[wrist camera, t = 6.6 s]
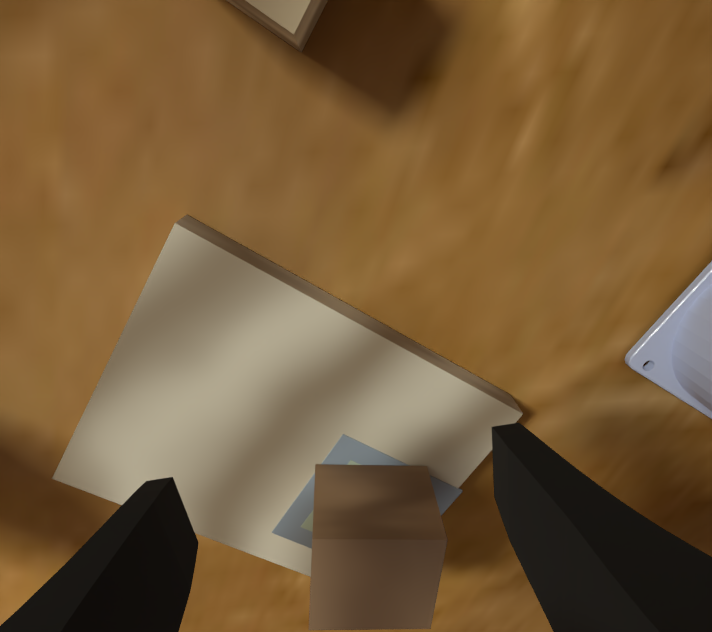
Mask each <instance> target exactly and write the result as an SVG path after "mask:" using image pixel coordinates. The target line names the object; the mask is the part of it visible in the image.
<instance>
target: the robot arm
mask: <svg viewBox="0 0 712 632" xmlns="http://www.w3.org/2000/svg"><path fill="white" fill-rule="evenodd" d="M647 361H649V362H648V364H647V365H645V366H643V365H644V363H645V362H647ZM625 362H626V364H627V365H628V366H629V367H630V368H632V369H633V370H635V371H636V372H638V373H640V374H641V375H643V376H644V377H646V378H647V379H649V380H651V381H652V382H654V383H655V384H657V385H659V386H660V387H662V388H663V389H665V390H667V391H668V392H670V393H671V394H673V395H675V396H676V397H678V398H679V399H681V400H683V401H684V402H686V403H687V404H689V405H690V406H692V407H694V408H695V409H697V410H698V411H700V412H702V413H703V414H705V415H706V416H708V417H710V418H711V419H712V261H711V262H710V263H709V264H708V266H707V267H706V268H705V269H704V270H703V271H702V272H701V273H700V274H699V275H698V276H697V278H696V279H695V280H694V281H693V282H692V283H691V284H690V285H689V286H688V287H687V288H686V290H685V291H684V292H683V293H682V294H681V295H680V296H679V297H678V298H677V299H676V300H675V302H674V303H673V304H672V305H671V306H670V307H669V308H668V309H667V310H666V311H665V312H664V314H663V315H662V316H661V317H660V318H659V319H658V320H657V321H656V322H655V323H654V324H653V326H652V327H651V328H650V329H649V330H648V331H647V332H646V333H645V334H644V335H643V336H642V338H641V339H640V340H639V341H638V342H637V343H636V344H635V345H634V346H633V347H632V348H631V349H630V351H629V352H628V353H627V355H626V357H625ZM492 451H493V476H494V497H495V500H496V503H497V506H498V509H499V512H500V514H501V517H502V520H503V523H504V526H505V529H506V531H507V534H508V537H509V540H510V542H511V544H512V546H513V548H514V550H515V553H516V555H517V557H518V559H519V561H520V563H521V565H522V567H523V569H524V571H525V573H526V576H527V578H528V580H529V582H530V584H531V586H532V588H533V590H534V592H535V594H536V596H537V598H538V600H539V602H540V604H541V606H542V609H543V611H544V613H545V615H546V617H547V619H548V621H549V623H550V625H551V627H552V629H553V631H554V632H712V557H711V556H709V555H707V554H705V553H703V552H702V551H700V550H698V549H697V548H695V547H693V546H691V545H690V544H688V543H686V542H685V541H683V540H681V539H680V538H678V537H676V536H674V535H673V534H671V533H669V532H668V531H666V530H664V529H663V528H661V527H660V526H658V525H656V524H655V523H653V522H652V521H650V520H648V519H647V518H645V517H644V516H642V515H641V514H639V513H638V512H636V511H635V510H633V509H632V508H630V507H629V506H627V505H626V504H624V503H623V502H621V501H620V500H618V499H617V498H616V497H614V496H613V495H611V494H610V493H609V492H607V491H606V490H604V489H603V488H602V487H600V486H599V485H598V484H596V483H595V482H594V481H592V480H591V479H590V478H588V477H587V476H586V475H584V474H583V473H582V472H580V471H579V470H578V469H576V468H575V467H574V466H572V465H571V464H570V463H569V462H567V461H566V460H565V459H564V458H562V457H561V456H560V455H559V454H557V453H556V452H555V451H554V450H552V449H551V448H550V447H549V446H547V445H546V444H545V443H544V442H542V441H541V440H540V439H539V438H538V437H536V436H535V435H534V434H533V433H531V432H530V431H529V430H528V429H526V428H525V427H524V426H523V425H521V424H520V423H512V424H506V425H500V426H493V427H492ZM197 549H198V540H197V538H196V535H195V533H194V530H193V527H192V525H191V522H190V520H189V517H188V515H187V512H186V510H185V507H184V504H183V502H182V499H181V497H180V494H179V492H178V489H177V486H176V484H175V481H174V479H173V477H169V478H162V479H156V480H150V481H146V482H145V483H144V484H142V485H141V486H140V487H139V488H138V489H137V490H136V491H135V492H134V493H133V494H132V495H131V496H130V497H129V498H128V499H127V500H126V502H125V503H124V504H123V505H122V506H121V507H120V508H119V509H118V510H117V511H116V512H115V513H114V514H113V515H112V516H111V517H110V518H109V519H108V520H107V521H106V523H105V524H104V525H103V526H102V527H101V528H100V529H99V530H98V531H97V532H96V533H95V534H94V535H93V536H92V537H91V538H90V539H89V540H88V541H87V542H86V543H85V544H84V545H83V546H82V547H81V548H80V550H79V551H78V552H77V553H76V554H75V555H74V556H73V557H72V558H71V559H70V560H69V561H68V562H67V563H66V564H65V565H64V566H63V567H62V568H61V569H60V570H59V571H58V572H57V573H56V574H55V575H53V576H52V577H51V578H50V579H49V580H48V581H47V582H46V583H45V584H44V585H43V586H42V587H41V588H40V589H39V590H38V591H37V592H36V593H35V594H34V595H33V596H32V597H31V598H30V599H29V600H28V601H27V602H26V603H25V604H24V605H23V606H22V607H20V608H19V609H18V610H17V611H16V612H15V613H14V614H13V615H12V616H11V617H10V618H9V619H7V620H6V621H5V622H4V623H3V624H2V625H1V626H0V632H178V631H179V628H180V624H181V621H182V618H183V614H184V611H185V607H186V604H187V600H188V597H189V593H190V589H191V584H192V579H193V573H194V568H195V562H196V555H197Z"/></svg>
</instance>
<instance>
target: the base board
mask: <svg viewBox="0 0 712 632" xmlns="http://www.w3.org/2000/svg"><path fill="white" fill-rule="evenodd" d="M522 415H523V413H522V411H521V410H520V408H519V407H518V405H517V404H516V402H515V401H514V399H513V398H512V396H511V395H510V394H508V393H506V392H504V391H503V390H501V389H499V388H497V387H495V386H494V385H492V384H490V383H488V382H486V381H485V380H483V379H481V378H479V377H477V376H476V375H474V374H472V373H470V372H468V371H467V370H465V369H463V368H461V367H459V366H458V365H456V364H454V363H452V362H450V361H449V360H447V359H445V358H443V357H442V356H440V355H438V354H436V353H434V352H433V351H431V350H429V349H427V348H425V347H424V346H422V345H420V344H418V343H416V342H415V341H413V340H411V339H409V338H407V337H406V336H404V335H402V334H400V333H398V332H397V331H395V330H393V329H391V328H389V327H388V326H386V325H384V324H382V323H380V322H379V321H377V320H375V319H373V318H372V317H370V316H368V315H366V314H364V313H363V312H361V311H359V310H357V309H355V308H354V307H352V306H350V305H348V304H346V303H345V302H343V301H341V300H339V299H337V298H336V297H334V296H332V295H330V294H328V293H327V292H325V291H323V290H321V289H319V288H318V287H316V286H314V285H312V284H310V283H309V282H307V281H305V280H303V279H302V278H300V277H298V276H296V275H294V274H293V273H291V272H289V271H287V270H285V269H284V268H282V267H280V266H278V265H276V264H275V263H273V262H271V261H269V260H267V259H266V258H264V257H262V256H260V255H258V254H257V253H255V252H253V251H251V250H249V249H248V248H246V247H244V246H242V245H240V244H239V243H237V242H235V241H233V240H232V239H230V238H228V237H226V236H224V235H223V234H221V233H219V232H217V231H215V230H214V229H212V228H210V227H208V226H206V225H205V224H203V223H201V222H199V221H197V220H196V219H194V218H192V217H190V216H188V215H186V216H184V217H183V218H181V219H180V220H179V221H177V222H176V223H175V224H174V226H173V228H172V230H171V232H170V235H169V237H168V239H167V241H166V243H165V245H164V247H163V249H162V251H161V253H160V255H159V257H158V259H157V262H156V264H155V266H154V268H153V270H152V272H151V274H150V276H149V278H148V280H147V282H146V284H145V286H144V289H143V291H142V293H141V295H140V297H139V299H138V301H137V303H136V305H135V307H134V309H133V311H132V313H131V316H130V318H129V320H128V322H127V324H126V326H125V328H124V330H123V332H122V334H121V336H120V338H119V340H118V343H117V345H116V347H115V349H114V351H113V353H112V355H111V357H110V359H109V361H108V363H107V365H106V367H105V370H104V372H103V374H102V376H101V378H100V380H99V382H98V384H97V386H96V388H95V390H94V392H93V395H92V397H91V399H90V401H89V403H88V405H87V407H86V409H85V411H84V413H83V415H82V417H81V419H80V422H79V424H78V426H77V428H76V430H75V432H74V434H73V436H72V438H71V440H70V442H69V444H68V446H67V449H66V451H65V453H64V455H63V457H62V459H61V461H60V463H59V465H58V467H57V469H56V471H55V473H54V476H53V478H52V479H54V480H57V481H59V482H62V483H65V484H67V485H70V486H73V487H75V488H78V489H81V490H83V491H86V492H88V493H91V494H94V495H96V496H99V497H102V498H104V499H107V500H110V501H112V502H115V503H117V504H120V505H123V504H124V503H125V502H126V500H127V499H128V498H129V497H130V496H131V495H132V494H133V493H134V492H135V491H136V490H137V489H138V488H139V487H140V486H141V485H142V484H144V483H145V482H146V481H150V480H156V479H162V478H169V477H173V479H174V481H175V484H176V486H177V489H178V492H179V494H180V497H181V499H182V502H183V504H184V507H185V510H186V512H187V515H188V517H189V520H190V522H191V525H192V527H193V530H194V533H197V534H199V535H202V536H205V537H207V538H210V539H212V540H215V541H218V542H220V543H223V544H226V545H228V546H231V547H234V548H236V549H239V550H242V551H244V552H247V553H249V554H252V555H255V556H257V557H260V558H263V559H265V560H268V561H271V562H273V563H276V564H278V565H281V566H284V567H286V568H289V569H292V570H294V571H297V572H300V573H302V574H305V575H307V576H310V577H311V558H312V533H313V508H314V484H315V464H330V465H393V466H427V468H428V472H429V475H430V479H431V482H432V486H433V489H434V493H435V497H436V500H437V504H438V507H439V511H440V514H441V515H442V514H443V513H444V512H445V511H446V510H447V508H448V507H449V506H450V505H451V504H452V503H453V502H454V500H455V499H456V498H457V497H458V496H459V495H460V494H461V493H462V489H459V487H460V486H461V485H462V483H463V482H464V481H465V480H466V479H467V478H468V477H469V475H470V474H471V473H472V472H473V471H474V470H475V469H476V467H477V466H478V465H479V464H480V463H481V462H482V461H483V459H484V458H485V457H486V456H487V455H488V454H489V453H490V451H491V450H492V427H493V426H500V425H506V424H512V423H516V422H517V421H518V419H519V418H520V417H521V416H522Z"/></svg>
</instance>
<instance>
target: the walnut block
mask: <svg viewBox="0 0 712 632" xmlns="http://www.w3.org/2000/svg"><path fill="white" fill-rule="evenodd" d="M447 541H448V539H447V536H446V532H445V529H444V525H443V521H442V518H441V514H440V511H439V507H438V504H437V500H436V497H435V493H434V489H433V486H432V482H431V479H430V475H429V472H428V468H427V466H393V465H330V464H315V484H314V508H313V533H312V558H311V585H310V611H309V630H368V629H431V624H432V618H433V613H434V608H435V603H436V598H437V592H438V587H439V582H440V577H441V572H442V566H443V561H444V556H445V551H446V546H447Z"/></svg>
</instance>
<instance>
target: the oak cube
mask: <svg viewBox="0 0 712 632" xmlns="http://www.w3.org/2000/svg"><path fill="white" fill-rule="evenodd" d="M226 1H228V2H229V3H231V4H232V5H234V6H235V7H236V8H238V9H239V10H241V11H242V12H244V13H245V14H247V15H248V16H249V17H251V18H252V19H254V20H255V21H257V22H258V23H260V24H261V25H262V26H264V27H265V28H267V29H268V30H270V31H271V32H273V33H274V34H275V35H277V36H278V37H280V38H281V39H283V40H284V41H285V42H287V43H288V44H290V45H291V46H293V47H294V48H296V49H297V50H298V51H300V52H302V50H303V48H304V46H305V44H306V42H307V40H308V39H309V37H310V35H311V33H312V31H313V29H314V27H315V25H316V23H317V21H318V19H319V17H320V15H321V13H322V11H323V9H324V7H325V5H326V3H327V1H328V0H226Z"/></svg>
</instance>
